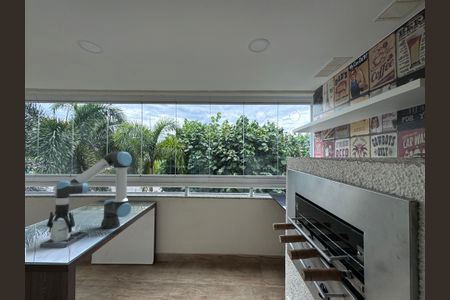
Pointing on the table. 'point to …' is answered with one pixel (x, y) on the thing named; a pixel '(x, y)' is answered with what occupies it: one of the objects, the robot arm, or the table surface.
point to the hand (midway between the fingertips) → (60, 237)
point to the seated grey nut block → (73, 234)
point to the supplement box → (59, 230)
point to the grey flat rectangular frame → (63, 245)
